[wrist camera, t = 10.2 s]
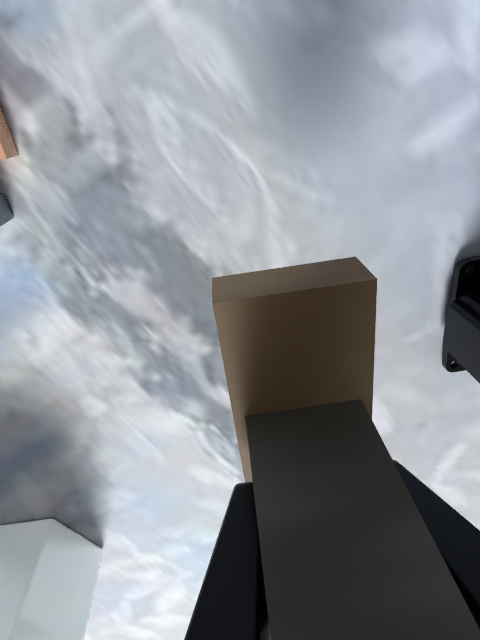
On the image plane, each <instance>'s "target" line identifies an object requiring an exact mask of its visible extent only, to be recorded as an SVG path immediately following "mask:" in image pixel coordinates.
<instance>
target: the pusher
mask: <svg viewBox="0 0 480 640" xmlns="http://www.w3.org/2000/svg"><path fill="white" fill-rule="evenodd" d="M376 294H377V278H376V277H375V276H374V275H373V274H372V273H371V272H370V271H369V270H368V269H367V268H366V267H365V266H364V265H363V264H362V263H361V262H360V261H359V260H358V259H357V258H356V257H350V258H344V259H337V260H330V261H323V262H317V263H310V264H303V265H296V266H290V267H283V268H276V269H269V270H263V271H256V272H249V273H242V274H235V275H229V276H222V277H215V278H212V298H213V308H214V314H215V319H216V325H217V330H218V336H219V341H220V347H221V352H222V358H223V363H224V369H225V374H226V380H227V385H228V391H229V396H230V402H231V407H232V412H233V418H234V423H235V429H236V434H237V440H238V445H239V451H240V456H241V462H242V467H243V473H244V478H245V482H253V489H254V498H255V507H256V515H257V524H258V533H259V541H260V550H261V559H262V567H263V576H264V585H265V593H266V602H267V611H268V619H269V628H270V636H271V640H480V629H479V627H478V625H477V623H476V621H475V619H474V617H473V616H472V614H471V612H470V610H469V608H468V606H467V604H466V602H465V600H464V598H463V596H462V594H461V592H460V590H459V588H458V586H457V584H456V583H455V581H454V579H453V577H452V575H451V573H450V571H449V569H448V567H447V565H446V563H445V561H444V559H443V557H442V555H441V553H440V551H439V550H438V548H437V546H436V544H435V542H434V540H433V538H432V536H431V534H430V532H429V530H428V528H427V526H426V524H425V522H424V520H423V518H422V516H421V515H420V513H419V511H418V509H417V507H416V505H415V503H414V501H413V499H412V497H411V495H410V493H409V491H408V489H407V487H406V485H405V483H404V482H403V480H402V478H401V476H400V474H399V472H398V470H397V468H396V466H395V464H394V462H393V460H392V458H391V456H390V454H389V452H388V450H387V449H386V447H385V445H384V443H383V441H382V439H381V437H380V435H379V433H378V431H377V429H376V427H375V425H374V423H373V421H372V401H373V374H374V347H375V321H376Z"/></svg>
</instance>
